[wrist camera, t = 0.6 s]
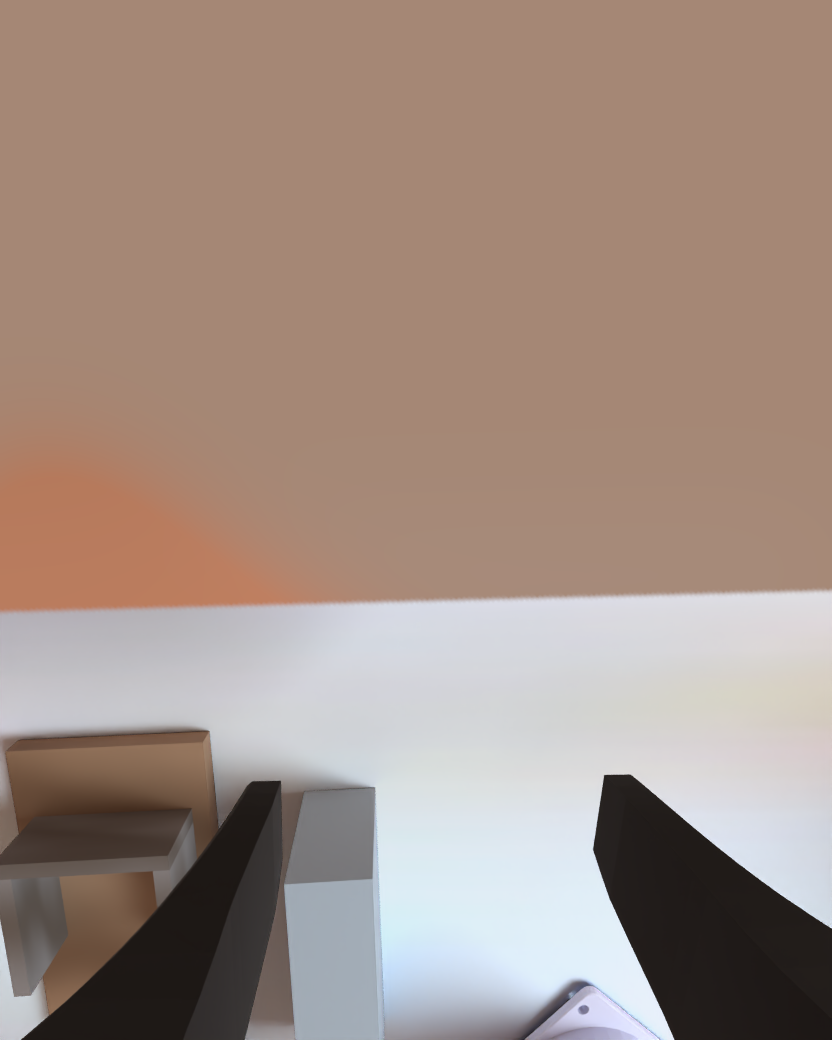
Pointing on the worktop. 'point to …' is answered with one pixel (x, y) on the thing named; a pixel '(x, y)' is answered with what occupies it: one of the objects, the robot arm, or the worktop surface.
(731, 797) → the worktop surface
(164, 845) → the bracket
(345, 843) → the rail
